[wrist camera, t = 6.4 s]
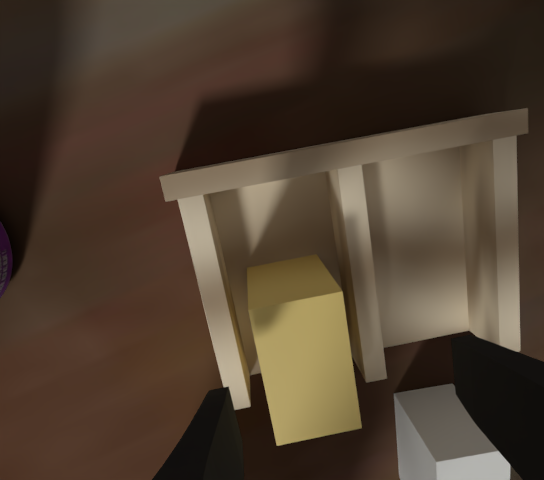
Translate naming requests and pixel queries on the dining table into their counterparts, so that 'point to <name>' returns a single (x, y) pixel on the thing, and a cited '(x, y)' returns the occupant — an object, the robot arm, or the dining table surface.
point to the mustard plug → (303, 349)
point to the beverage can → (5, 260)
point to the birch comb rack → (366, 236)
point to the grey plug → (442, 439)
